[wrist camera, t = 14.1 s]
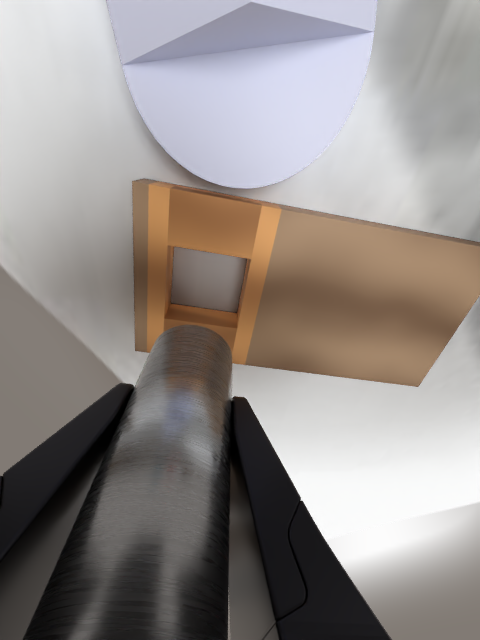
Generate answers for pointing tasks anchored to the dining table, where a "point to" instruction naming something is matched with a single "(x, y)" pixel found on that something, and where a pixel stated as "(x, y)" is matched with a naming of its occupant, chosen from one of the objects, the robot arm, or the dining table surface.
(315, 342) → the brown flat rectangular block
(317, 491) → the dining table surface
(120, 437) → the metal peg
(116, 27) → the wedge on round base
